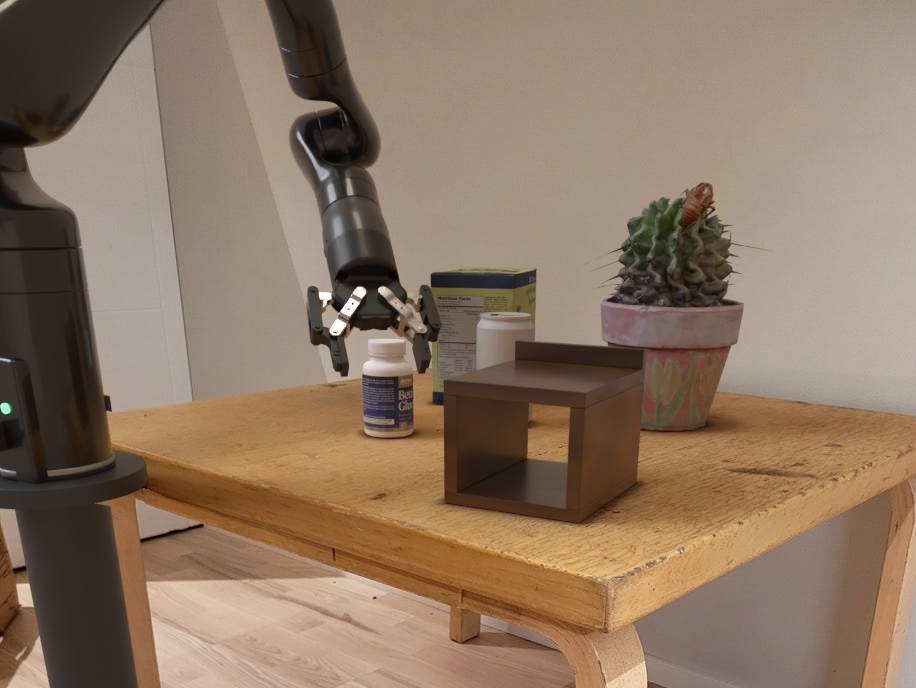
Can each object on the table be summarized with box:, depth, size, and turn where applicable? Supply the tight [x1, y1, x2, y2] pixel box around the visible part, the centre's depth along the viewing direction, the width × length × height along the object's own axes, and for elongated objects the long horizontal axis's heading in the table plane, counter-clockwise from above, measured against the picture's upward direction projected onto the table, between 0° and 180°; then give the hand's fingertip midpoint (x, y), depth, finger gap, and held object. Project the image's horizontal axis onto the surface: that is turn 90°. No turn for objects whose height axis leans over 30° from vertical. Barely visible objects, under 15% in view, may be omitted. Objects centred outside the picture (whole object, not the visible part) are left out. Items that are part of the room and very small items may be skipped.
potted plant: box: [583, 181, 774, 432], centre depth 106 cm, size 18×20×25 cm
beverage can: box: [476, 312, 536, 421], centre depth 107 cm, size 6×6×12 cm
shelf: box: [443, 340, 647, 524], centre depth 80 cm, size 14×12×12 cm
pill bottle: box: [361, 338, 415, 439], centre depth 102 cm, size 5×5×10 cm
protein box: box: [430, 266, 538, 405], centre depth 123 cm, size 10×16×16 cm
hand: (384, 370), depth 102 cm, fingers open, 8 cm apart
